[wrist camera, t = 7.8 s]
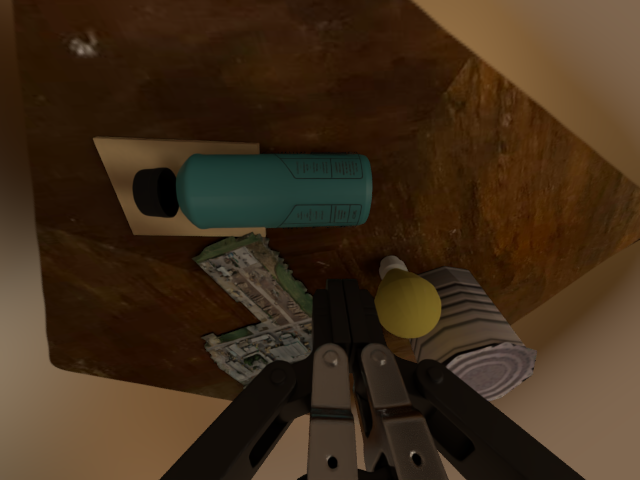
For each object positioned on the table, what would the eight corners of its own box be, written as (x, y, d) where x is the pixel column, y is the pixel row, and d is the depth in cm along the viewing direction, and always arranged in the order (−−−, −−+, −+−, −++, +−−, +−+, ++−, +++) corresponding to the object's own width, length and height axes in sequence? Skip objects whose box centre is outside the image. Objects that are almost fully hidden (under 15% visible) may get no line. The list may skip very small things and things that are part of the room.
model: (267, 219, 28) (265, 228, 27) (362, 354, 45) (364, 364, 43) (117, 286, 33) (110, 297, 31) (254, 386, 49) (253, 395, 48)
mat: (96, 136, 23) (92, 138, 23) (259, 142, 24) (258, 144, 24) (136, 231, 29) (133, 234, 28) (266, 234, 30) (265, 237, 29)
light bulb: (426, 264, 33) (464, 333, 25) (381, 289, 36) (403, 359, 28) (399, 231, 30) (434, 297, 22) (352, 261, 33) (368, 330, 24)
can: (387, 282, 35) (418, 371, 25) (476, 253, 33) (548, 339, 23) (405, 330, 41) (437, 416, 31) (481, 308, 39) (540, 394, 29)
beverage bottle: (389, 139, 21) (118, 133, 19) (393, 222, 20) (114, 226, 18) (367, 168, 27) (163, 166, 25) (369, 232, 27) (161, 235, 25)
